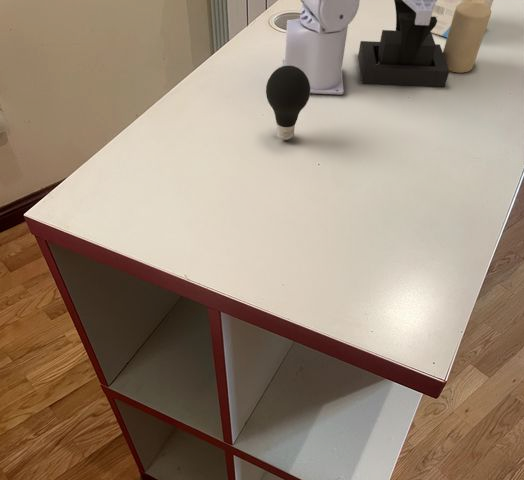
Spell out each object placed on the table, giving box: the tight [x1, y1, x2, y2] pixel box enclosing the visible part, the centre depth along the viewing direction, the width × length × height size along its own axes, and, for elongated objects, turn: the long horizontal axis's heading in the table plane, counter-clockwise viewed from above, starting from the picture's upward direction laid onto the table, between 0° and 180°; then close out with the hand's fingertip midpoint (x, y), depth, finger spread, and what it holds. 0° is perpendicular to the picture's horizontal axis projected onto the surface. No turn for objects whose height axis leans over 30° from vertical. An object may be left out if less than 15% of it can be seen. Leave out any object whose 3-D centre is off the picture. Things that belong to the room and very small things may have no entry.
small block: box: [378, 29, 436, 66], centre depth 84 cm, size 8×5×4 cm, turn 87°
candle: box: [442, 0, 492, 74], centre depth 84 cm, size 6×6×10 cm
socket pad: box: [357, 40, 450, 88], centre depth 85 cm, size 14×10×2 cm
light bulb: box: [265, 66, 311, 142], centre depth 70 cm, size 6×6×10 cm
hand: (403, 54), depth 84 cm, fingers closed on small block, 5 cm apart
